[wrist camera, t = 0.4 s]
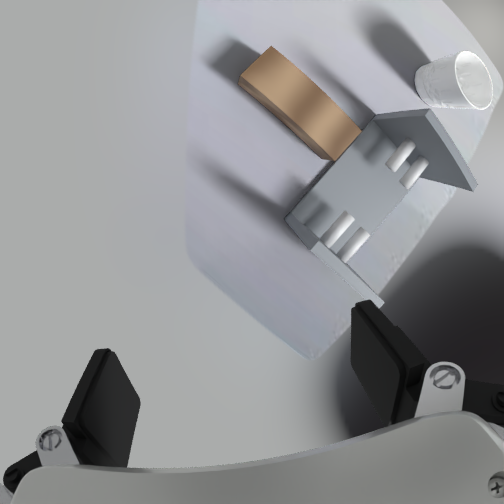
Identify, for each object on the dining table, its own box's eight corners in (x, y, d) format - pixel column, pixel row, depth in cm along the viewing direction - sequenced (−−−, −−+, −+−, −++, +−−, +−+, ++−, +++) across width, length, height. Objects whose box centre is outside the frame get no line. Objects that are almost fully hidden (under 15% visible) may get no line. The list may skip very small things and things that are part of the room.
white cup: (437, 59, 32) (480, 49, 22) (454, 105, 34) (499, 104, 25) (403, 65, 32) (446, 52, 23) (421, 115, 35) (467, 114, 25)
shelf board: (237, 84, 32) (240, 75, 27) (264, 58, 31) (271, 45, 26) (320, 158, 36) (334, 161, 32) (345, 132, 35) (361, 131, 31)
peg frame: (376, 114, 34) (430, 108, 23) (421, 171, 38) (477, 184, 26) (283, 219, 38) (309, 250, 27) (339, 268, 41) (376, 310, 30)
